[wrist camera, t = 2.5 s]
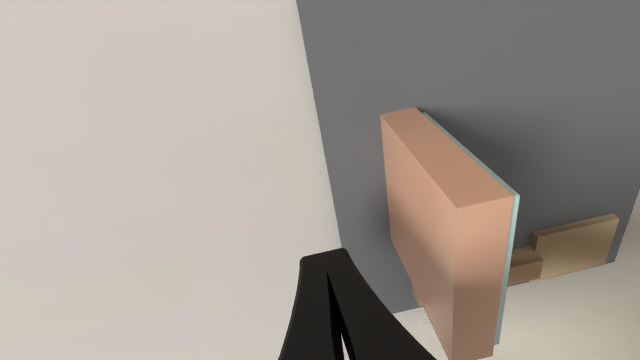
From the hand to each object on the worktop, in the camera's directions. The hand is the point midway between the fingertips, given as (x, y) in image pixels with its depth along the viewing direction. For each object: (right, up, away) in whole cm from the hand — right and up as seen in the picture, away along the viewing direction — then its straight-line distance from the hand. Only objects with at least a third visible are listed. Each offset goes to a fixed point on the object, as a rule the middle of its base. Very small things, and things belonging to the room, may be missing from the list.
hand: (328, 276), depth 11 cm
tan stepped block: (+9, -1, +7) cm, 12 cm away
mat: (+7, +4, +4) cm, 9 cm away
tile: (+3, +3, +4) cm, 6 cm away
